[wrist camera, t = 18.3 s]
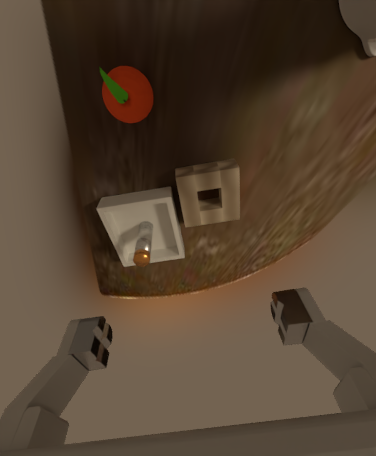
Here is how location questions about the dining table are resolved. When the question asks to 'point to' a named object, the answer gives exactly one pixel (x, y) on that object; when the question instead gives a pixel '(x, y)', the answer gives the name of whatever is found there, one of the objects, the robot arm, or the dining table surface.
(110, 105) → the clementine
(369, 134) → the dining table surface
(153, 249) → the tray
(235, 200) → the block
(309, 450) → the robot arm
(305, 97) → the dining table surface
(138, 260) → the pin
